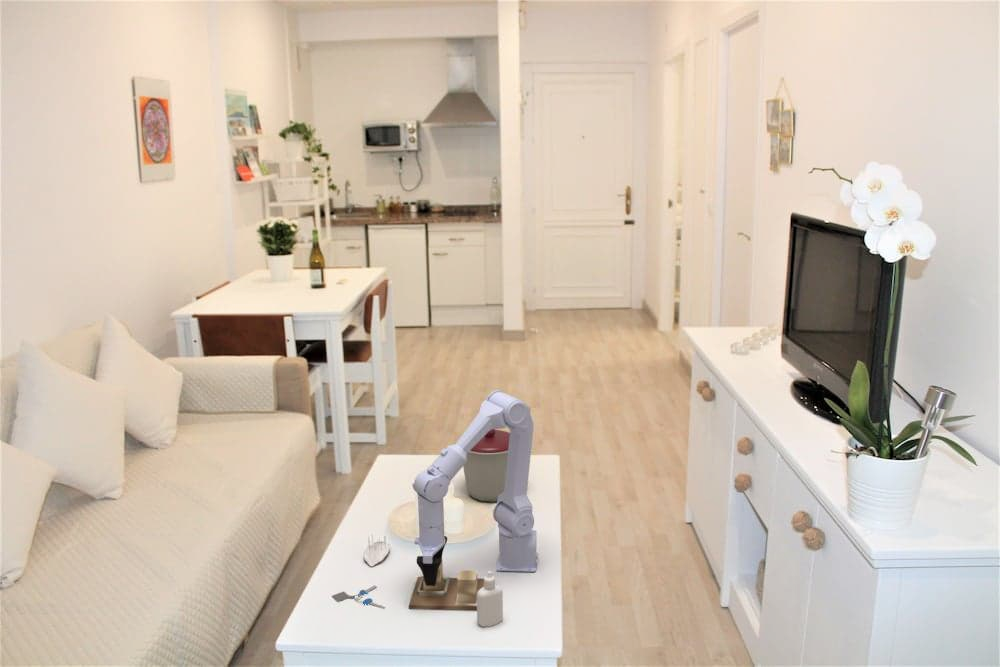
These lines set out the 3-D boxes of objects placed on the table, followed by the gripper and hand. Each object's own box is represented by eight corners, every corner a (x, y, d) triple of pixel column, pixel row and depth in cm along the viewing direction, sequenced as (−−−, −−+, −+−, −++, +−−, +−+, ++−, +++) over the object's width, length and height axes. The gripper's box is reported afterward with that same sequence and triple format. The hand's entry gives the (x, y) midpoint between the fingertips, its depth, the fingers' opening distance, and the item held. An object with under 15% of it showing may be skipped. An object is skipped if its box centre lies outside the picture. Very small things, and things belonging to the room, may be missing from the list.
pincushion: (383, 569, 205) (382, 548, 203) (359, 567, 205) (358, 547, 204) (394, 545, 216) (393, 525, 215) (371, 544, 217) (370, 524, 215)
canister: (466, 511, 235) (464, 440, 230) (454, 485, 252) (452, 419, 247) (528, 503, 239) (527, 434, 234) (512, 479, 256) (511, 414, 251)
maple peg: (443, 583, 195) (442, 560, 194) (440, 592, 192) (440, 568, 190) (426, 582, 196) (425, 559, 194) (423, 592, 192) (422, 568, 190)
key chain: (328, 602, 191) (327, 598, 190) (343, 583, 198) (343, 580, 198) (384, 610, 187) (384, 607, 187) (398, 591, 195) (398, 588, 195)
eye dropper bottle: (477, 616, 184) (476, 567, 181) (502, 615, 184) (502, 566, 181) (476, 627, 180) (475, 577, 177) (502, 627, 180) (502, 577, 177)
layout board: (484, 582, 197) (484, 555, 196) (480, 610, 186) (479, 582, 184) (417, 580, 199) (416, 554, 197) (409, 608, 187) (407, 580, 185)
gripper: (419, 508, 197) (421, 560, 200) (408, 537, 183) (410, 592, 186) (448, 508, 197) (450, 560, 200) (440, 537, 182) (442, 593, 186)
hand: (433, 576), depth 193 cm, fingers open, 7 cm apart
